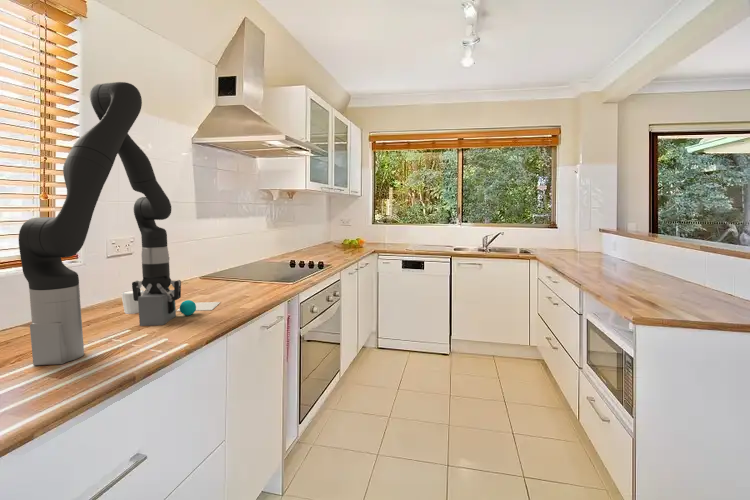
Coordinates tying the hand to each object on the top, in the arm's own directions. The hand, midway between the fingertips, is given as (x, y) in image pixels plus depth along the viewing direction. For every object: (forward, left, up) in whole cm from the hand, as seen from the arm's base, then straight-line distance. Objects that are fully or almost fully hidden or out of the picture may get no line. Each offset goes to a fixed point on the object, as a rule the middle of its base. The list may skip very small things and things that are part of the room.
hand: (158, 313), depth 130 cm
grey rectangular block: (0, 0, -2) cm, 2 cm away
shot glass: (+13, +13, -3) cm, 19 cm away
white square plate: (+18, -7, -2) cm, 19 cm away
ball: (+6, -7, 0) cm, 9 cm away
